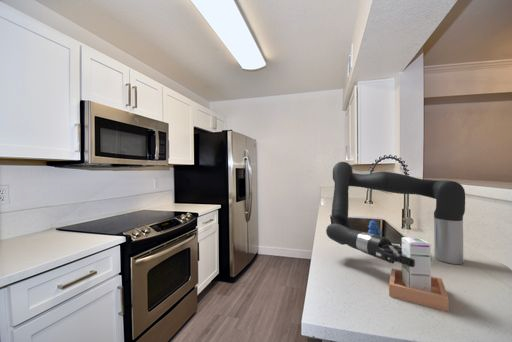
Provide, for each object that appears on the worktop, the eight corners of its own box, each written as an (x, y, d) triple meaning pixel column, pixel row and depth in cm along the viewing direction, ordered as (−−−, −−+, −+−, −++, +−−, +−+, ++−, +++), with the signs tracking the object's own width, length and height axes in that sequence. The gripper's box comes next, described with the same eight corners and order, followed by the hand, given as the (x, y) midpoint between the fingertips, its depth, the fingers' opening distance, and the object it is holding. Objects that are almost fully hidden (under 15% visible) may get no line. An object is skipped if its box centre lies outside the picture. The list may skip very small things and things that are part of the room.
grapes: (379, 247, 109) (379, 223, 109) (364, 244, 114) (364, 221, 114) (385, 242, 118) (385, 219, 118) (371, 239, 122) (371, 217, 122)
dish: (391, 278, 77) (391, 268, 77) (441, 289, 69) (441, 278, 70) (389, 295, 66) (389, 284, 66) (448, 311, 58) (448, 298, 58)
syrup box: (432, 293, 64) (432, 243, 65) (409, 291, 66) (409, 241, 66) (421, 284, 70) (421, 237, 70) (400, 282, 71) (401, 236, 71)
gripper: (359, 237, 78) (408, 252, 63) (385, 232, 84) (435, 245, 69) (359, 258, 78) (408, 278, 63) (385, 252, 84) (436, 269, 69)
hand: (422, 261), depth 66 cm, fingers open, 8 cm apart
